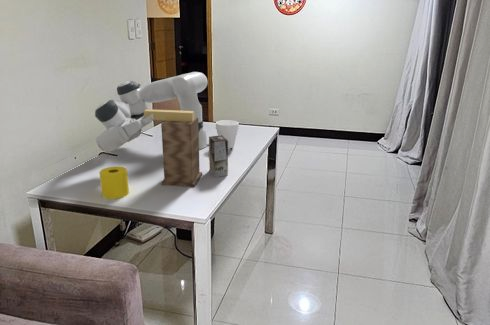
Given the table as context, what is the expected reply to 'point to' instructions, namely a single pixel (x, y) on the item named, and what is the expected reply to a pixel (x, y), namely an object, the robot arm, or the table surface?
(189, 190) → the table surface
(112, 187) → the yellow toilet paper roll
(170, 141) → the stand
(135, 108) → the robot arm
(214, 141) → the coffee box
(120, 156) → the table surface
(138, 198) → the table surface
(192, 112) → the bar
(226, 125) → the cup
